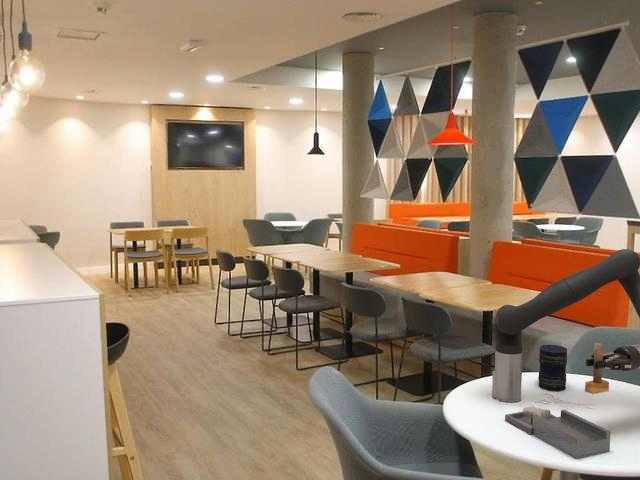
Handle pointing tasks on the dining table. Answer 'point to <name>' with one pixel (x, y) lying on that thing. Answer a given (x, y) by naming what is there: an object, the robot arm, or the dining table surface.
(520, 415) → the tray
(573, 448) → the slot board
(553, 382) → the storage jar
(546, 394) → the scissors
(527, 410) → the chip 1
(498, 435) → the dining table surface
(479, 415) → the dining table surface
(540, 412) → the chip
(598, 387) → the wooden post on base
